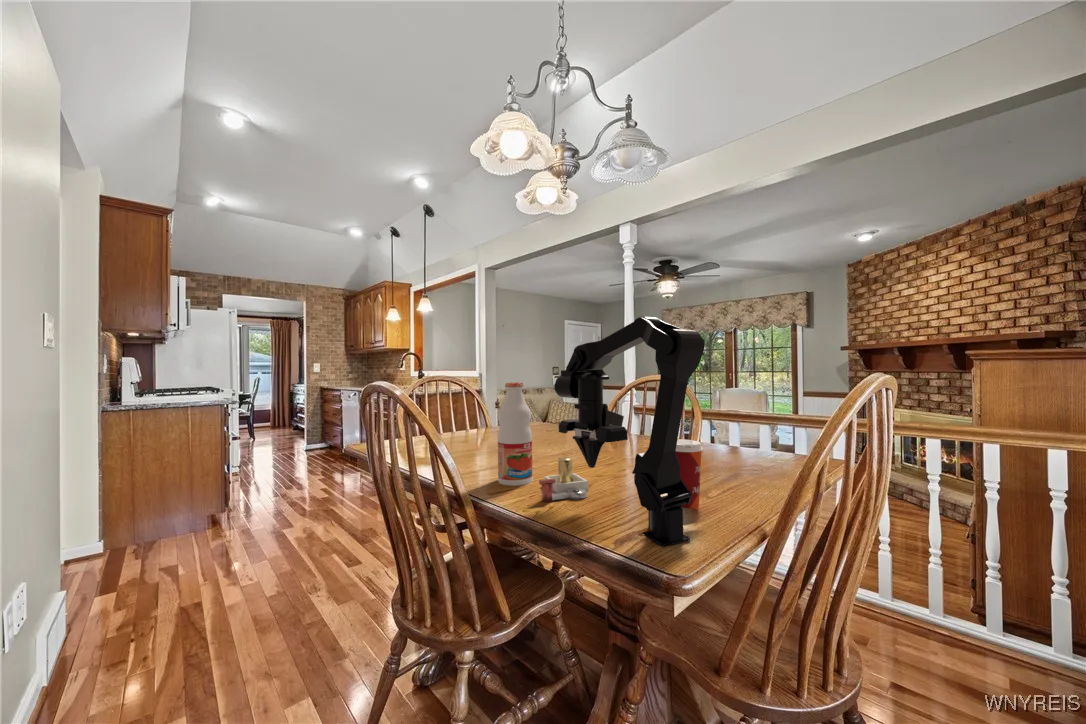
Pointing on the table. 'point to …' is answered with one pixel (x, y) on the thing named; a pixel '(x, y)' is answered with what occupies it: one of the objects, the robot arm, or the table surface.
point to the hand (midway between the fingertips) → (591, 467)
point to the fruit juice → (514, 438)
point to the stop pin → (565, 470)
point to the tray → (562, 487)
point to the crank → (570, 493)
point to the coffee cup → (690, 468)
